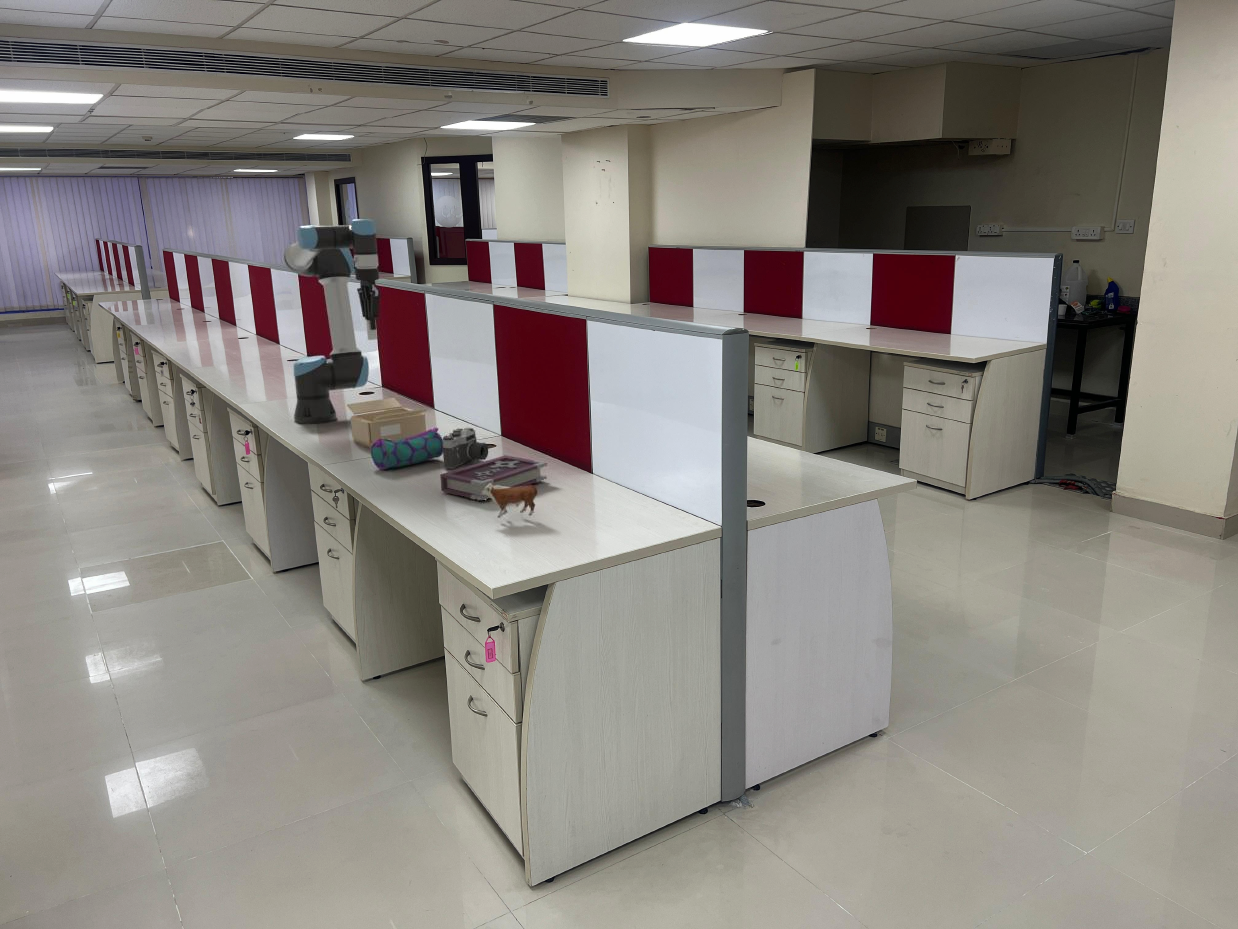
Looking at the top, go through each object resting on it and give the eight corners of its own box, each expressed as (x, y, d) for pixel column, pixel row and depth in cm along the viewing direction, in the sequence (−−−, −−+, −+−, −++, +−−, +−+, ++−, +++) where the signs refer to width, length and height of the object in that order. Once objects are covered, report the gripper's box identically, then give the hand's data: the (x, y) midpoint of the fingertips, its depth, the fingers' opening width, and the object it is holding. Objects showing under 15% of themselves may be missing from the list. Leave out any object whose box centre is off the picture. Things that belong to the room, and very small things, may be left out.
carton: (351, 442, 298) (349, 416, 295) (407, 432, 310) (405, 407, 308) (371, 450, 287) (368, 423, 284) (428, 439, 299) (426, 413, 297)
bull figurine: (483, 513, 220) (481, 481, 218) (538, 510, 221) (536, 479, 219) (482, 518, 216) (480, 486, 213) (538, 516, 217) (536, 484, 214)
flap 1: (354, 414, 296) (346, 405, 300) (401, 407, 307) (393, 398, 310) (354, 413, 296) (346, 404, 300) (401, 406, 307) (393, 397, 310)
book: (483, 501, 231) (482, 483, 230) (441, 491, 240) (439, 474, 239) (547, 479, 250) (547, 462, 249) (506, 471, 260) (505, 454, 259)
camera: (470, 470, 260) (468, 437, 258) (440, 467, 264) (438, 435, 261) (495, 457, 275) (494, 426, 272) (467, 455, 278) (465, 424, 275)
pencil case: (386, 473, 259) (383, 441, 257) (371, 468, 265) (368, 436, 263) (446, 459, 273) (444, 429, 271) (430, 455, 279) (428, 425, 277)
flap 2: (421, 413, 296) (428, 409, 291) (373, 420, 285) (380, 416, 281) (420, 411, 296) (428, 407, 291) (372, 419, 285) (379, 415, 281)
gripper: (347, 267, 294) (353, 338, 300) (364, 269, 284) (370, 342, 291) (368, 266, 298) (374, 336, 305) (386, 268, 289) (391, 340, 295)
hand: (372, 339), depth 298 cm, fingers closed
